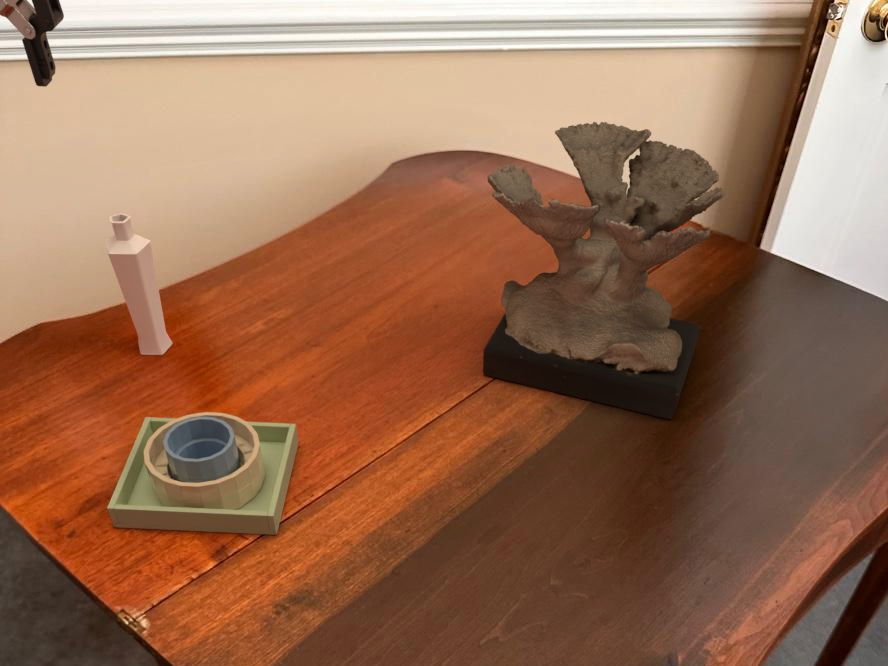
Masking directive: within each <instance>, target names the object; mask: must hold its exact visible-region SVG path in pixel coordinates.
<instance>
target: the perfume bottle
mask: <svg viewBox="0 0 888 666" xmlns="http://www.w3.org/2000/svg"><path fill="white" fill-rule="evenodd" d="M131 218H132V216H131V215H129V214H126V213H124V212H119V213H116V214H112V215H110V216H108V220H109V223H110V224H111V226H112V229H113V234H114V235H112V236H111V237H109V238H107V239H106V240H105V246H106V251H107V255H108V257H109V260H110V262H111V266H112V269H113V271H114V275H115V277H116V278H117V282H118V285H119V288H120V290H121V293H122V295H123V299H124V301H125V304H126V307H127V310H128V312H129V315H130V317H131V320H132V323H133V326H134V329H135V331H136V334H137V341H138V342H137V344H138V348H139V354H140V355H142V356H163V355H164V354H165V353H166V352H167V351H168V350H169V349H170V348H171V347H172V346H173V344H174V343H173V341H172V339H171V337H170V336H169V334H168V333H167V330H166V324H165V317H164V312H163V307H162V301H161V294H160V291H159V290H160V289H159V283H158V278H157V273H156V267H155V261H154V255H153V249H152V243H151V240H150V239H148V238H146V237H143V236H141V235H139V234H136V233H134V230H133V226H132V222H131Z"/></svg>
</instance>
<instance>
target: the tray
mask: <svg viewBox="0 0 888 666" xmlns="http://www.w3.org/2000/svg"><path fill="white" fill-rule="evenodd" d="M177 418H178V417H176V418H175V417H157V416H156V417H155V416H152V417H151V416H144V420H143V422H142V424H141V426H140V429H139V432H138V434H137V437H136V438H135V441H134V443H133V445H132V449H131V450H130V453H129V455H128V458H127V459H126V462H125V465H124V466H123V469H122V472H121V473H120V477H119V479H118V481H117V483H116V486H115V488H114V491H113V493H112V495H111V498H110V500H109V503H108V504H107V507H106V510H107V512H108V514H109V517H110V520H111V523H112V525H113V528H116V529H117V528H121V529H139V530H140V529H141V530H159V531H160V530H162V531H184V532H203V533H205V532H206V533H225V534H227V533H228V534H245V535H246V534H247V535H248V534H249V535H267V536H268V535H269V536H277V535H278V533H279V528H280V523H281V519H282V515H283V511H284V506H285V502H286V498H287V493H288V489H289V485H290V481H291V476H292V472H293V468H294V464H295V459H296V457H297V452H298V447H299V436H298V428H297V423H288V422H267V421H266V422H265V421H263V422H262V421H246V422H247V423H249V424H250V425H251V426H252V427H253V429H254V430H255V431H256V432H257V434H258V438H259V443H260V448H261V453H262V458H263V464H264V469H265V478H264V482H263V486H262V488H261V489H260V491H259V492H258V493H257V495H256V496H255V497H254V498H253V499H252V500H250V501H249V502H248V503H246V504H245V505H243V506H242V507H241V508H238V509H236V510H227V509H206V508H184V507H165V506H164V505H162V504H161V503H160V501H159V500H158V498H157V497H156V495H155V494H154V491H153V487H152V484H151V481H150V478H149V475H148V472H147V469H146V466H145V463H144V449H145V446H146V444H147V441H148V440H149V438H150V437H151V436H152V435H153V434H154V433H155V432H156V431H157V429H159V428H160V427H162V426H163V425H165V424H167V423H168V422H170V421H172V420H174V419H177Z"/></svg>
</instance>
